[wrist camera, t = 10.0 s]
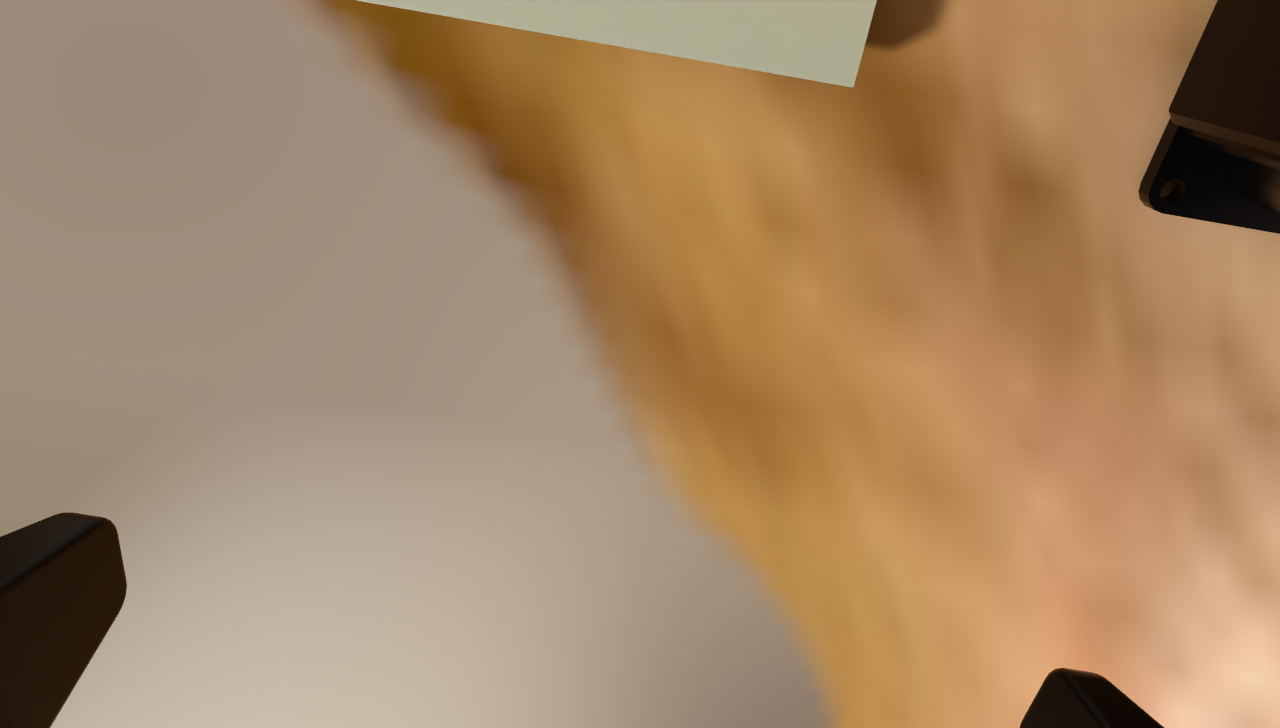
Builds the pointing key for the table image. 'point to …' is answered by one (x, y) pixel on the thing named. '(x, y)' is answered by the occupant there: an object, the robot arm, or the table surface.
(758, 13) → the lid
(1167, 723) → the table surface
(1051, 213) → the table surface
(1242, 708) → the table surface
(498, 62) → the table surface
